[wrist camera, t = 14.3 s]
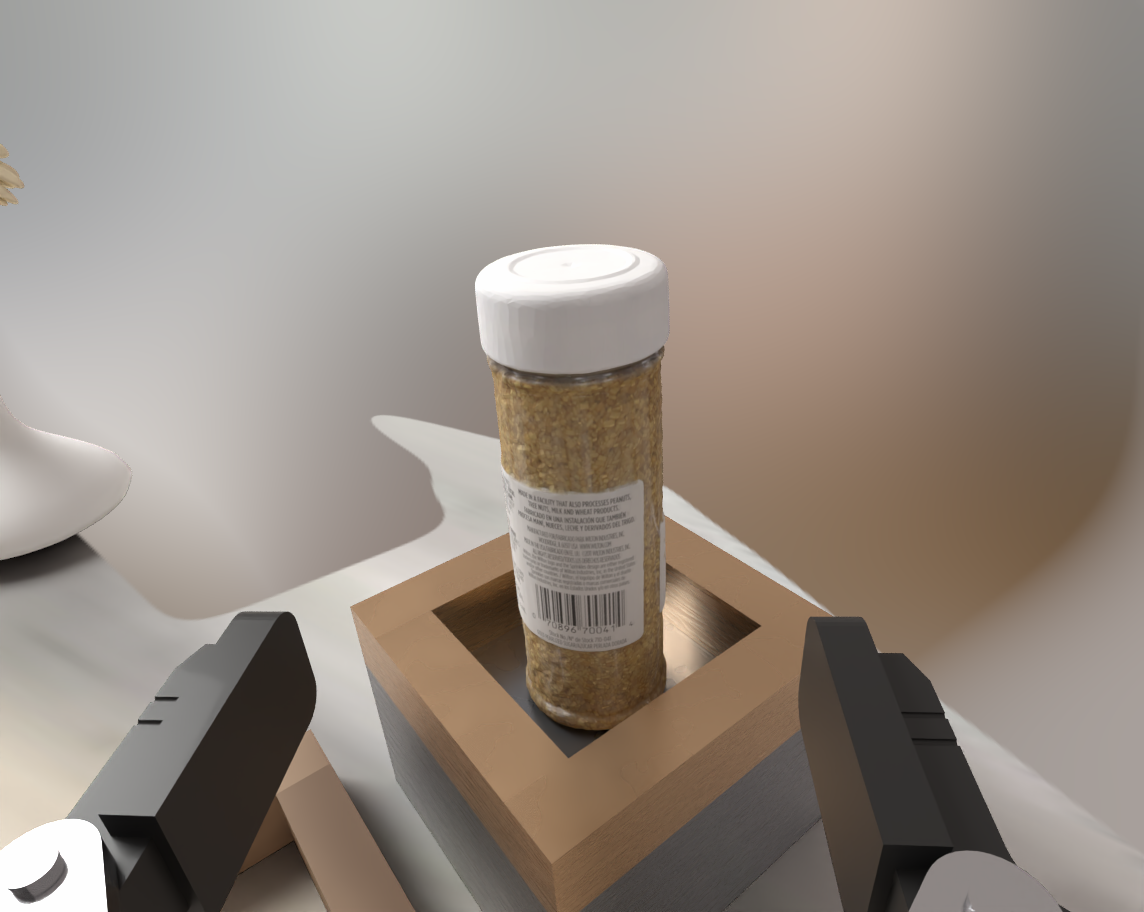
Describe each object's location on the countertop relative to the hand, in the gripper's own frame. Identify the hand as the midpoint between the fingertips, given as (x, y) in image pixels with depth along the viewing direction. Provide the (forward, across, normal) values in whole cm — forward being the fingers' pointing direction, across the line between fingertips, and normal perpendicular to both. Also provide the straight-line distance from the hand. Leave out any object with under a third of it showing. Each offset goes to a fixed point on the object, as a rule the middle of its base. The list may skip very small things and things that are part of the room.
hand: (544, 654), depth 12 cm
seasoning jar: (+9, 0, +10) cm, 13 cm away
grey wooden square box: (+9, 0, +16) cm, 18 cm away
